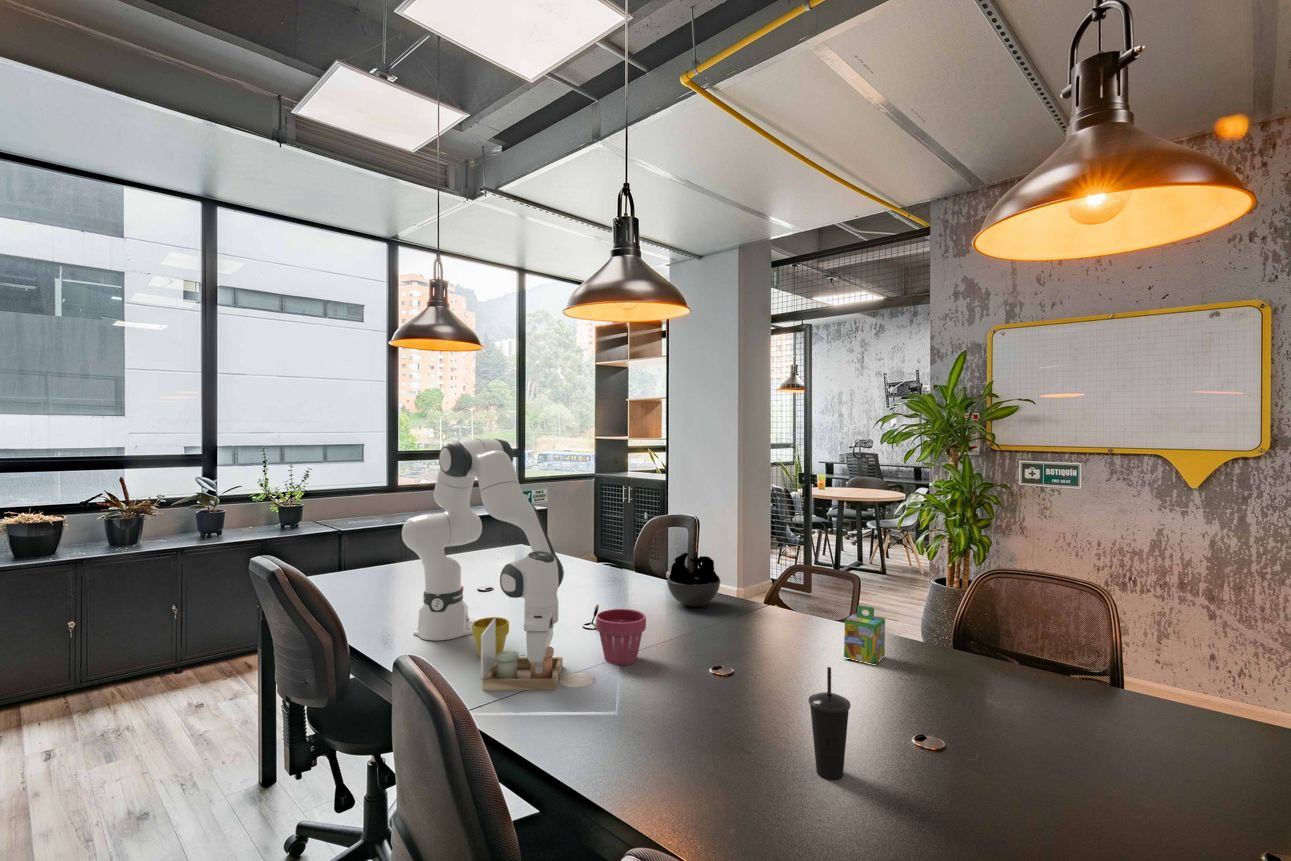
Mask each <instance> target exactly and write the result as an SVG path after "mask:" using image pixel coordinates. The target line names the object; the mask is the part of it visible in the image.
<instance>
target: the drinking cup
mask: <svg viewBox="0 0 1291 861" xmlns="http://www.w3.org/2000/svg"><path fill="white" fill-rule="evenodd" d="M826 669H827V671H826V673H827V674H826V675H827V677H826V679H827V682H826V685H827V692H826V691H824V692H819V693H818V692H817V693H815V694H814V693H813V694H811V695H810V696H809V697H808V704H809V706H810V716H811V726H812V727H811V728H812V735H813V736H812V737H813V748H814V749H813V750H814V758H815V768H816V774H817V775H818V776H819V777H820V778H823V779H826V780H830V781H838V780H841V779H842V778H843V776H844V769H845V753H846V748H847V747H846V746H847V745H846V744H847V732H848V721H849V711H850V709H851V701H850V700H848V699H847V698H846V697H844V696H842V695H839V694H837V693H834V692H832V667H830V666H828V667H827V668H826Z"/></svg>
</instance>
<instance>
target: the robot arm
mask: <svg viewBox="0 0 1291 861" xmlns="http://www.w3.org/2000/svg"><path fill="white" fill-rule="evenodd" d="M438 454H439V455H438V463H439V471H438V474H437V478H436V482H435V486H434V491H433V500H434V501H435V503H436V504H437V505H438V506H439V508H441V509H443V510H445V511H444V512H439V513H438V512H437V513H429V514H428V513H427V514H422V515H416V516H414V517H410V518H408V519H406V521H405V523H404V524H403V525H402V529H401V538H402V541H403V543H404V544H405V546H406V547H407V548H408V549H410V550H411V551H413V552H414V553H415V554H416V555H417V556H418V557H419V559H420V561H421V564H422V567H423V571H424V590H423V594H422V595H423V596H422V597H423V598H422V599H423V601H422V602H423V605H422V606H421V607H419V610H418V622H417V628H416V629H415V630H413V633H412V634H413V635H414V636H417V637H419V638H420V639H423V640H424V641H445V640H446V641H448V640H453V639H457V638H461V637H463V636H470V635H473V634H472V624H473V623H474V622H475V621H476V619H475V618H474V617H471V616H470V617H469V606H468V605H467V604H466V602H465V601H464V588H465V587H464V586H463V585H462V566H461V565H460V562H458V561H457V560H456V559H455V558H451V557H449V556H446V552H445V548H447V547H456V546H463V545H466V544H470V543H473V542H476V541H477V540H478V539H479V538H480V536H481V534H482V531H483V524H482V519H481V517H480V516H479V515H478V514H477V513H476V512H474V511H473V509H472V508H471V496H472V491H473V486H474V483H475V479H477V482H478V488H479V493H480V497H481V502H482V505H483V508H484V509H485V512H487V513H488V515H489V516H491V517H492V518H494V519H496V520H498V521H501V522H506V523H509V524H512V525H514V526H516V527H518V528H520V529H521V530H522V531H523V532H524V535H525V536H526V539H527V541H528V543H529V546H530V548H531V552H529V553H528V554H527V555H526V556H525V557H523V558H521V559H520V560H515V561H511V562H509V563H507V564H505V565H504V566H503V568H502V570H501V572H500V576H499V583H500V585H499V586H500V589H501V591H502V592H503V593H504V594H505V596H507V597H509V598H512V599H513V598H516V599H518V598H523V599H524V606H523V607H524V608H523V609H524V615H523V616H524V618H523V619H524V621H523V631H524V632H526V634H525V636H526V638H525V640H526V655H527V657H528V661H529V662H530V663H534V664H535V673H536V674H541V673H542V672H543V660H544V657H545V655H546V652H547V650H548V647H550V644H551V643H552V642H551V641H552V640H553V636H554V626H555V624H557V623H558V622H559V599H558V589H559V588H560V586H561V585H562V582H563V580H564V575H565V571H564V567H563V564H562V562H561V561H560V559H559V557H558V556H557V553H556V552H555V550H554V547H553V545H552V543H551V540H550V538H549V536H548V533H547V530H546V527H545V525H544V524H543V521H542V519H541V516H540V514H539V512H538V510H537V508H536V507H535V505H533V504H532V503H531V502H530V501H529V500H528V499H527V497H526V496H525V495H524V492H523V491H522V488H521V485H520V481H519V478H518V474H517V471H516V469H515V466H514V462H513V461H514V451H513V449H512V447H511V444H510V443H509V442H508V441H507V440H503V439H499V438H494V439H493V438H492V439H491V438H489V439H488V438H475V439H467V440H460V441H459V440H453V441H449V442H447V443H445V444H443V445H442V447H441V449H440V450H439V453H438Z"/></svg>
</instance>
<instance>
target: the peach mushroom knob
mask: <svg viewBox="0 0 1291 861" xmlns="http://www.w3.org/2000/svg"><path fill="white" fill-rule="evenodd" d="M554 651H555V649H554V648H553V647H552V646H549V647H548V650H547V652H546V655H545V657H544V660H543V672H542V673H541V674H536V673H535V664H534V663H531V679H550V678H552V657H553V656H554V655H555V653H554Z"/></svg>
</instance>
